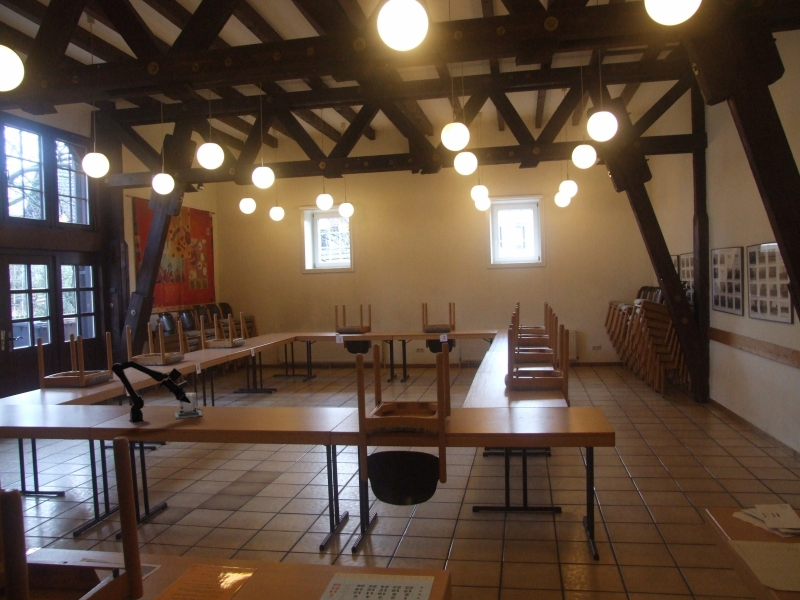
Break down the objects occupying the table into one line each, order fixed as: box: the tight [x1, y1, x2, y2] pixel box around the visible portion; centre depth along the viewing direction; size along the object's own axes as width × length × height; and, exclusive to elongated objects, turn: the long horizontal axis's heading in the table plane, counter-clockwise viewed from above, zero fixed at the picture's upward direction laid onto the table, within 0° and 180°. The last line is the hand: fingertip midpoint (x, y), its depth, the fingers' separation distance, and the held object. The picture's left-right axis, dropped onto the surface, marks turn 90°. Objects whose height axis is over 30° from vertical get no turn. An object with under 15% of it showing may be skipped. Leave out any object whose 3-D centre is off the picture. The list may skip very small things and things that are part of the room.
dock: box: [174, 408, 203, 420], centre depth 377 cm, size 16×16×3 cm
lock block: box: [183, 394, 193, 413], centre depth 377 cm, size 6×6×12 cm
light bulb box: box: [179, 392, 198, 411], centre depth 397 cm, size 11×7×11 cm, turn 168°
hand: (190, 401), depth 378 cm, fingers open, 8 cm apart
